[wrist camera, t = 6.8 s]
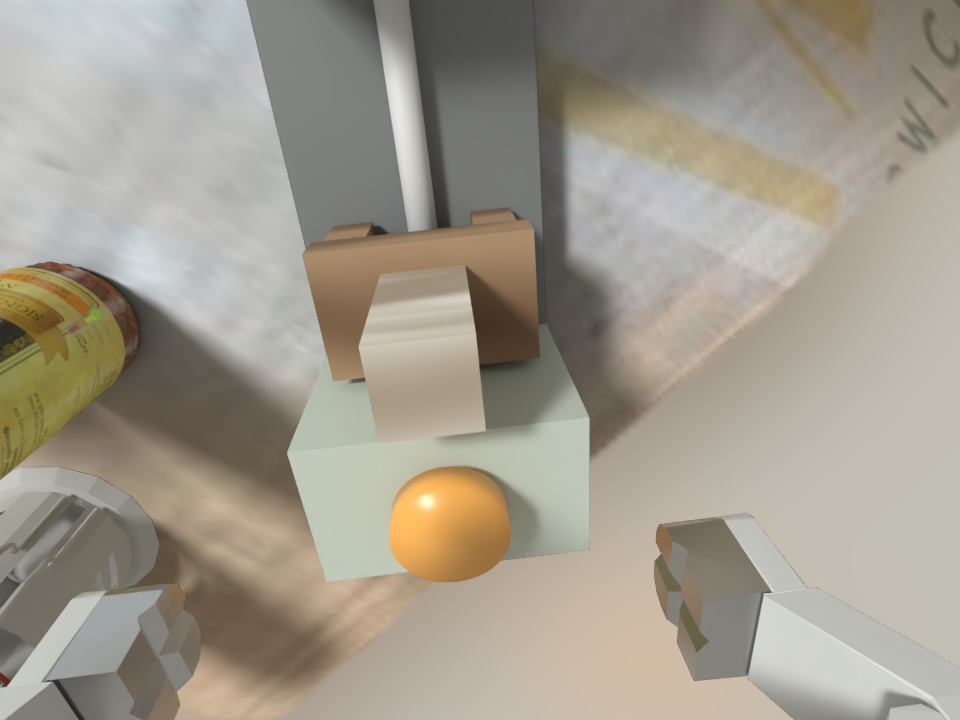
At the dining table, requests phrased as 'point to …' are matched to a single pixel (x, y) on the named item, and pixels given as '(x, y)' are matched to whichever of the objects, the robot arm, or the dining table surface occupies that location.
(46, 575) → the french press
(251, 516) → the dining table surface
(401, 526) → the button
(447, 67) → the rail bench
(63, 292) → the sauce bottle
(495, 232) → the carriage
